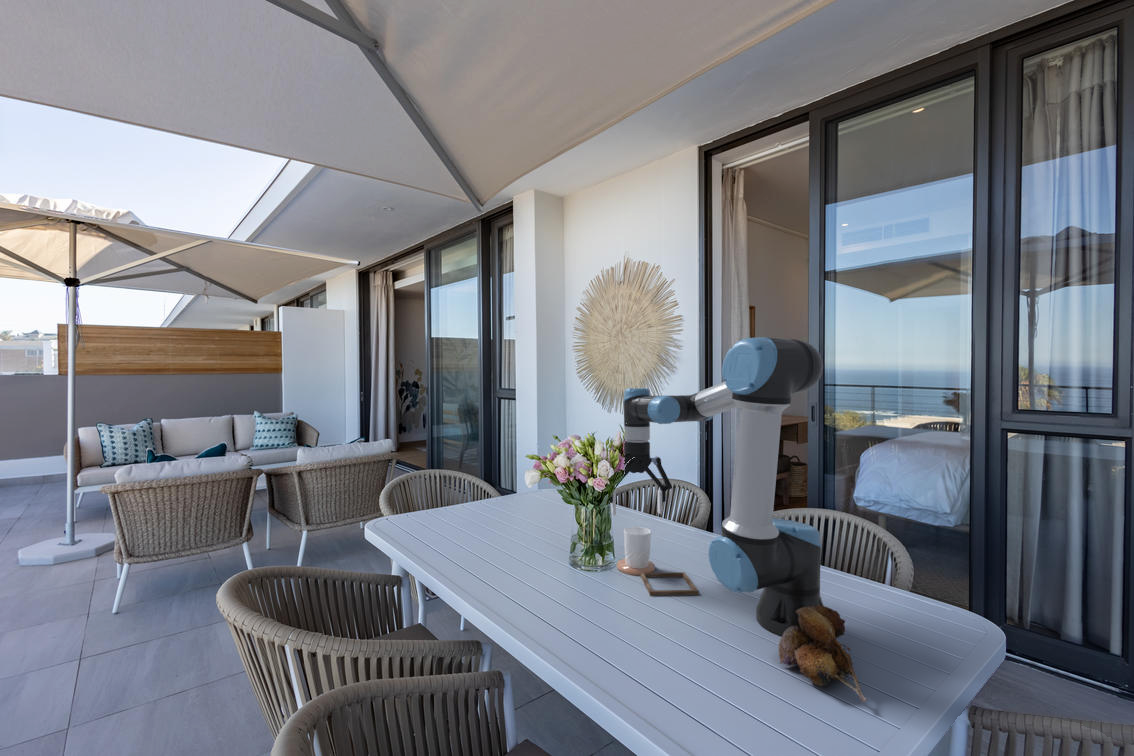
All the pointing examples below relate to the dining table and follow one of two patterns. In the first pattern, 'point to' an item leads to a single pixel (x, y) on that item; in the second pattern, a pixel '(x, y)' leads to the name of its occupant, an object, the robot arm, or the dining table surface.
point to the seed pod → (818, 647)
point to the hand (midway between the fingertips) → (636, 513)
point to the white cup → (637, 547)
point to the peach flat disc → (633, 571)
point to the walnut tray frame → (669, 592)
